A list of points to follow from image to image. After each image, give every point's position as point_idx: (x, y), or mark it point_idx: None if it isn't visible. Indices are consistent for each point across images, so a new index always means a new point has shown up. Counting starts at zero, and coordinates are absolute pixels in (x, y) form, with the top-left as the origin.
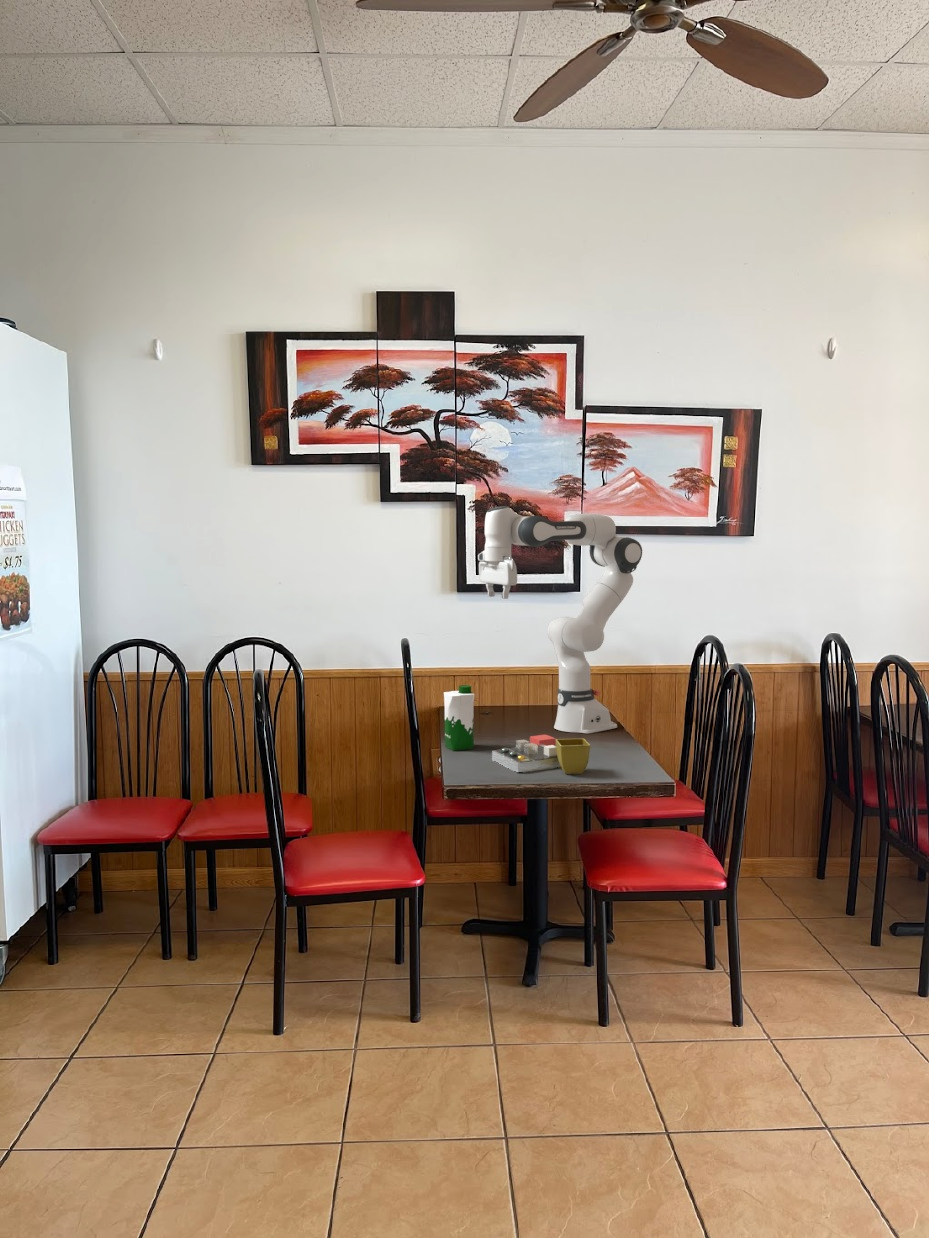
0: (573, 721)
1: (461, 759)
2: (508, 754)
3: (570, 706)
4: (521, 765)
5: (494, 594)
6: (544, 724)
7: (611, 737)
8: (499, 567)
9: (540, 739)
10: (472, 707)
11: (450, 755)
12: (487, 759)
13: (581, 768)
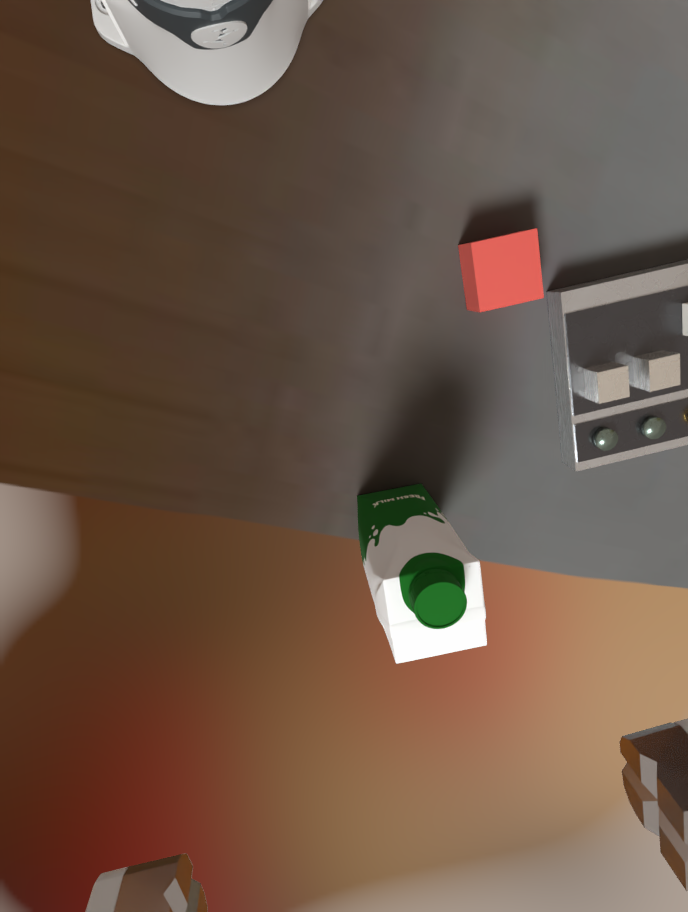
0: (289, 25)
1: (521, 537)
2: (639, 438)
3: (272, 6)
4: None
5: (174, 881)
6: (113, 115)
7: None
8: None
9: (533, 289)
10: (457, 543)
11: None
12: (546, 471)
13: None
